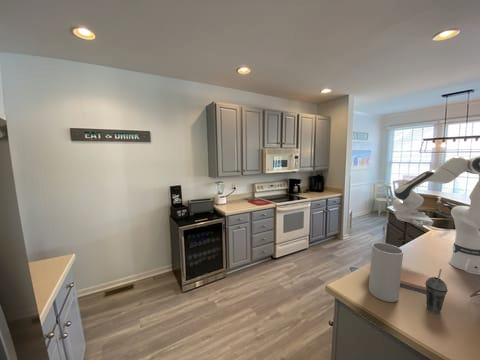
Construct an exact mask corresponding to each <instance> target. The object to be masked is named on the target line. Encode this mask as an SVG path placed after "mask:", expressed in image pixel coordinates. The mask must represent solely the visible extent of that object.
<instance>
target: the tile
mask: <svg viewBox="0 0 480 360" xmlns="http://www.w3.org/2000/svg"><path fill="white" fill-rule="evenodd" d="M428 278H430V277H429V275H428V274H422V273H419V272H415V271H411V270H407V269H401V279H400V284H403V285H407V286H411V287H414V288H418V289H421V290H425V291H426V284H425V283H426V281H427V279H428Z"/></svg>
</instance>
